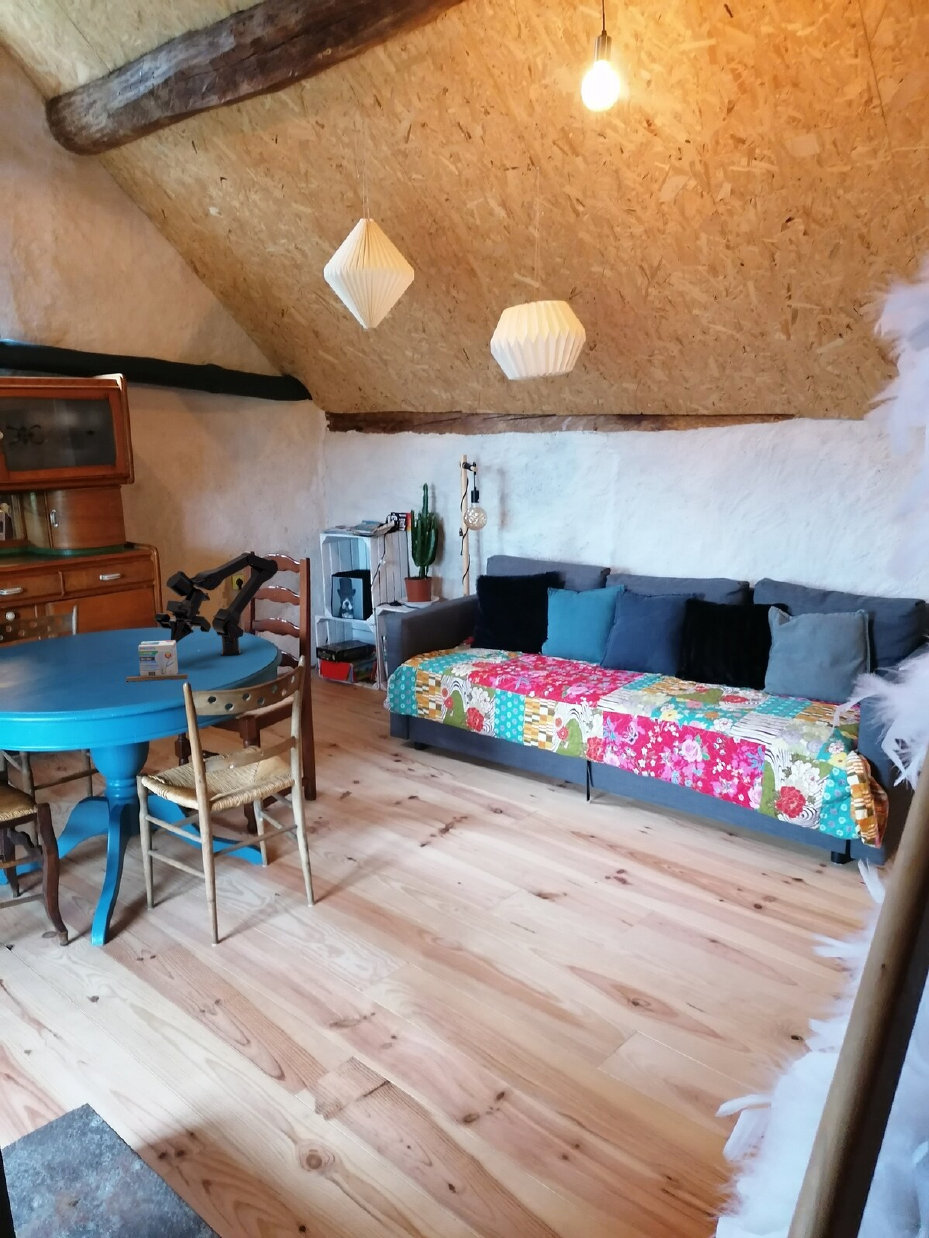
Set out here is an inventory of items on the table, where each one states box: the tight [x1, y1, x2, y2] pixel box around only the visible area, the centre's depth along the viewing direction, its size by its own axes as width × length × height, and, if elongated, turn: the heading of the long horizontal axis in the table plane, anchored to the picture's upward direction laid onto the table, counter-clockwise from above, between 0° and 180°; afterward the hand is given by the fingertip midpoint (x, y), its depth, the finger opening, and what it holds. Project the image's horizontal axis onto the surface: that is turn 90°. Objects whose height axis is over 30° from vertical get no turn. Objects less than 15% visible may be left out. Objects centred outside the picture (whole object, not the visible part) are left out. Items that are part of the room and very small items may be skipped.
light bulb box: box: [137, 639, 179, 676], centre depth 263 cm, size 11×7×11 cm, turn 101°
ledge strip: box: [125, 673, 189, 682], centre depth 259 cm, size 2×18×1 cm, turn 101°
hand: (172, 644), depth 268 cm, fingers closed
